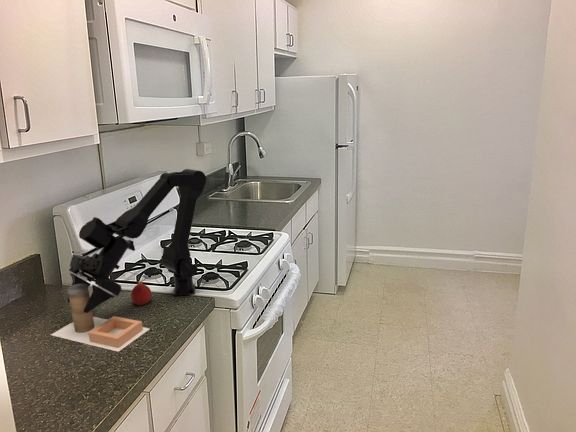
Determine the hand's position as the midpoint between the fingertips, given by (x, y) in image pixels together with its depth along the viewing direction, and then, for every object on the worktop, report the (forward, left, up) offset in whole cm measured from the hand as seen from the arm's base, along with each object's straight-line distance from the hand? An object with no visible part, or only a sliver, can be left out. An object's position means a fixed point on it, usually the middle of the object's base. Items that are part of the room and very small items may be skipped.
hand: (76, 307), depth 131 cm
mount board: (+2, +6, -8) cm, 10 cm away
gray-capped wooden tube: (-1, +1, -7) cm, 7 cm away
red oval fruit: (-14, +14, -8) cm, 21 cm away
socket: (+5, +10, -7) cm, 13 cm away
